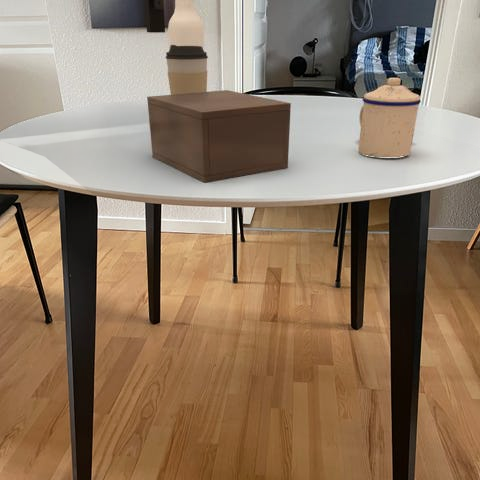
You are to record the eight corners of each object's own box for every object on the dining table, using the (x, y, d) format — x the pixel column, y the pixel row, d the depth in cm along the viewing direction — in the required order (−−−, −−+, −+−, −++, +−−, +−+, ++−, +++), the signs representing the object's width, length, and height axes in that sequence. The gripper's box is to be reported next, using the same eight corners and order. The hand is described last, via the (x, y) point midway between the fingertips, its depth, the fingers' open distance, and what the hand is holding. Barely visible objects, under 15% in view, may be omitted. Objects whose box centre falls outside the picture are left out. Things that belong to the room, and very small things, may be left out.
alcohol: (168, 106, 130) (158, -35, 114) (179, 101, 137) (171, -32, 121) (200, 107, 128) (195, -36, 112) (210, 102, 135) (205, -33, 120)
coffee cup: (196, 115, 118) (193, 42, 110) (217, 120, 112) (216, 44, 104) (162, 119, 113) (156, 44, 105) (182, 125, 107) (178, 46, 99)
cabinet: (152, 157, 83) (146, 96, 78) (227, 146, 90) (227, 90, 85) (204, 182, 70) (201, 112, 65) (287, 167, 77) (291, 103, 72)
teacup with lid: (422, 156, 83) (437, 79, 77) (378, 162, 80) (389, 82, 74) (378, 142, 92) (388, 72, 86) (336, 147, 89) (343, 75, 83)
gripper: (188, -162, 69) (193, 33, 82) (149, -142, 79) (159, 31, 91) (137, -172, 66) (151, 33, 78) (103, -150, 75) (120, 31, 87)
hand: (156, 32), depth 84 cm, fingers closed
